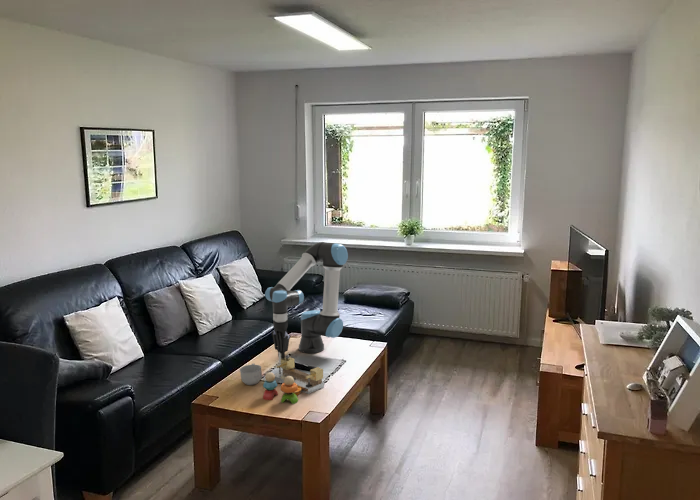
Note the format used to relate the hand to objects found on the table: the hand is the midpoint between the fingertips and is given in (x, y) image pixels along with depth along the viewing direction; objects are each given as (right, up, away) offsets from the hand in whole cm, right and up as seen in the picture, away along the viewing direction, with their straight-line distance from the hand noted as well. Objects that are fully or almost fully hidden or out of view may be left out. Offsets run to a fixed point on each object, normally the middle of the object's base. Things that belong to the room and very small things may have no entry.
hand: (281, 363), depth 300 cm
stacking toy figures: (+4, -11, -26) cm, 28 cm away
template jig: (+9, -8, -11) cm, 17 cm away
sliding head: (+2, -4, -4) cm, 6 cm away
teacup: (-14, -8, -8) cm, 18 cm away
